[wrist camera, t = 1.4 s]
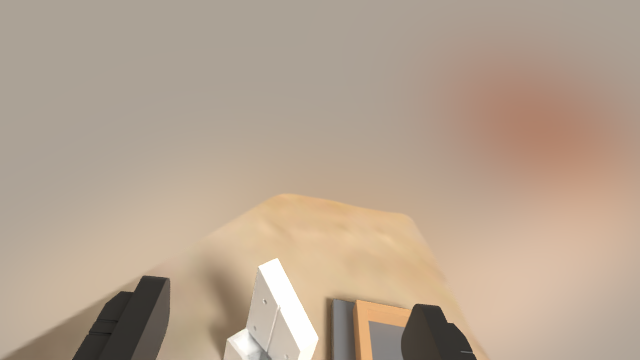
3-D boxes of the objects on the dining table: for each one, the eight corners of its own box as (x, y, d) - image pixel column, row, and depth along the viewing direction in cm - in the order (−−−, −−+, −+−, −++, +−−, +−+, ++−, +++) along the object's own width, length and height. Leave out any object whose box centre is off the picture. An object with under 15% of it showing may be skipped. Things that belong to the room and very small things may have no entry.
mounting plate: (331, 426, 29) (339, 408, 28) (331, 305, 39) (337, 288, 38) (477, 448, 30) (490, 432, 29) (438, 325, 40) (447, 309, 39)
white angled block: (233, 290, 35) (277, 257, 29) (283, 395, 33) (341, 382, 27) (198, 307, 32) (237, 275, 26) (248, 422, 30) (304, 415, 24)
